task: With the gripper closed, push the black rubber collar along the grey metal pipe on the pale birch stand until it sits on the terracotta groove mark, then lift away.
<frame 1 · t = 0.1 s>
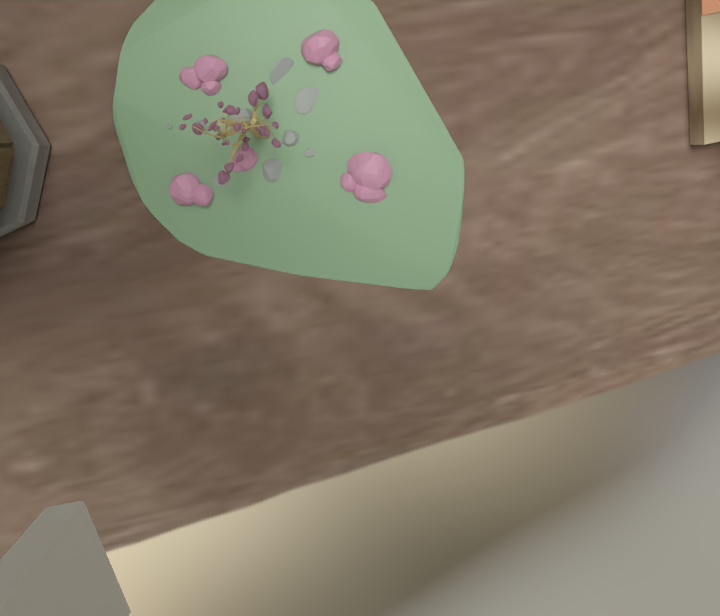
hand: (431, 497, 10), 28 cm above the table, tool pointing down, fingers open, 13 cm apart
plant: (307, 150, 36), on the table
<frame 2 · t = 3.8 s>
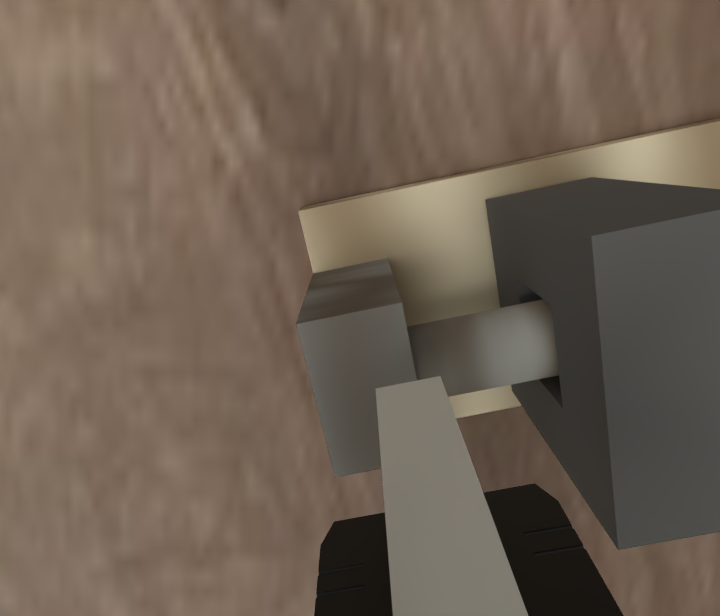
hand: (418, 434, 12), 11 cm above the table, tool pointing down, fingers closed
pipe stand: (674, 250, 22), on the table
collar: (602, 326, 16), point 7 cm above the table, slide at -6.0 cm
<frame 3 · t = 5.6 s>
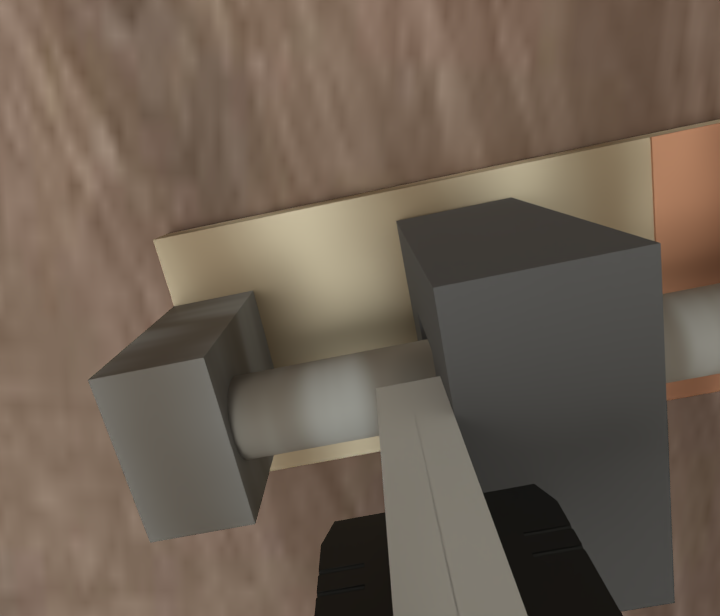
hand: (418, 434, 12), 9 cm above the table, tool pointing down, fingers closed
pipe stand: (571, 281, 21), on the table
collar: (503, 368, 15), point 6 cm above the table, slide at -4.4 cm, touching gripper
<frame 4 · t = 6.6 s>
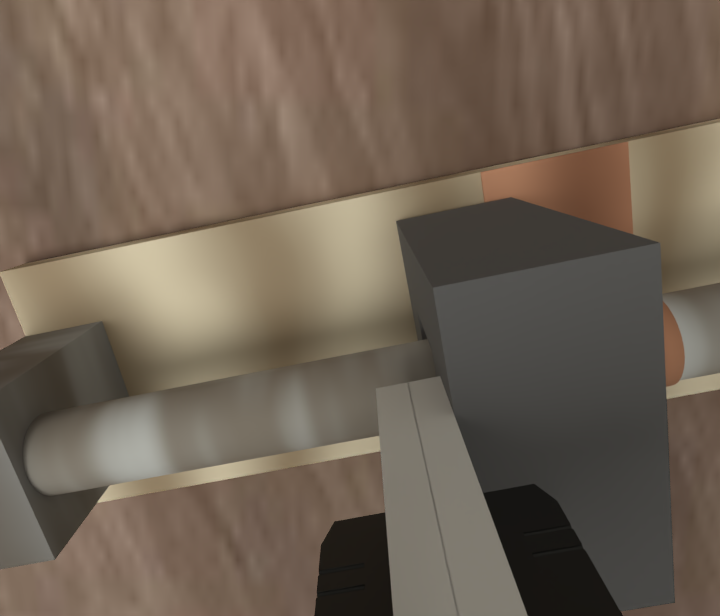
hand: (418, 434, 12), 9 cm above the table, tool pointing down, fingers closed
pipe stand: (426, 309, 21), on the table
collar: (503, 368, 15), point 6 cm above the table, slide at 1.3 cm, touching gripper
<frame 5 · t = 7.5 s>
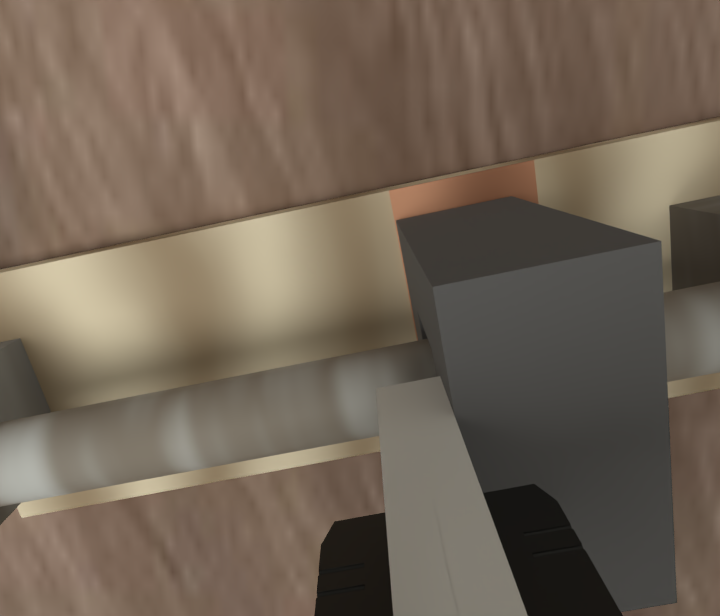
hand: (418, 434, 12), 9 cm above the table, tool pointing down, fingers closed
pipe stand: (348, 325, 21), on the table
collar: (503, 367, 15), point 6 cm above the table, slide at 4.5 cm, touching gripper
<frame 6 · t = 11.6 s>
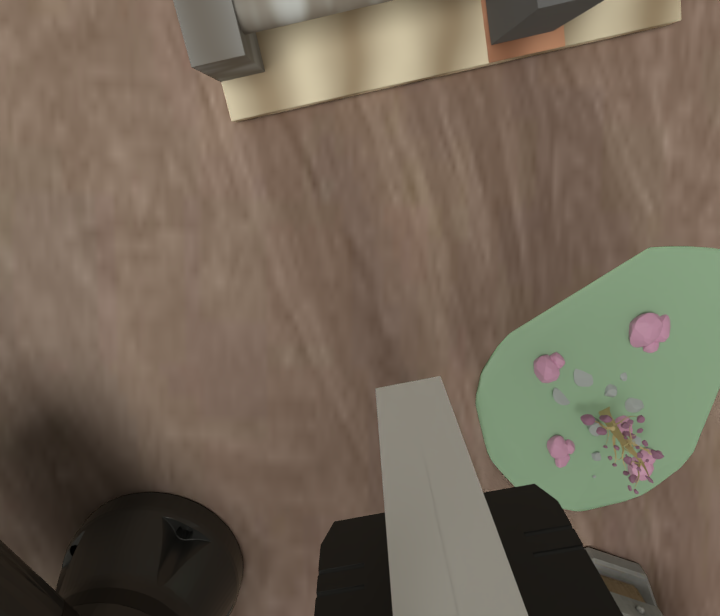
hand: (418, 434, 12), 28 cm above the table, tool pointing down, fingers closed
plant: (613, 372, 44), on the table
tankard: (612, 614, 50), on the table
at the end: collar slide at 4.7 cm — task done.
